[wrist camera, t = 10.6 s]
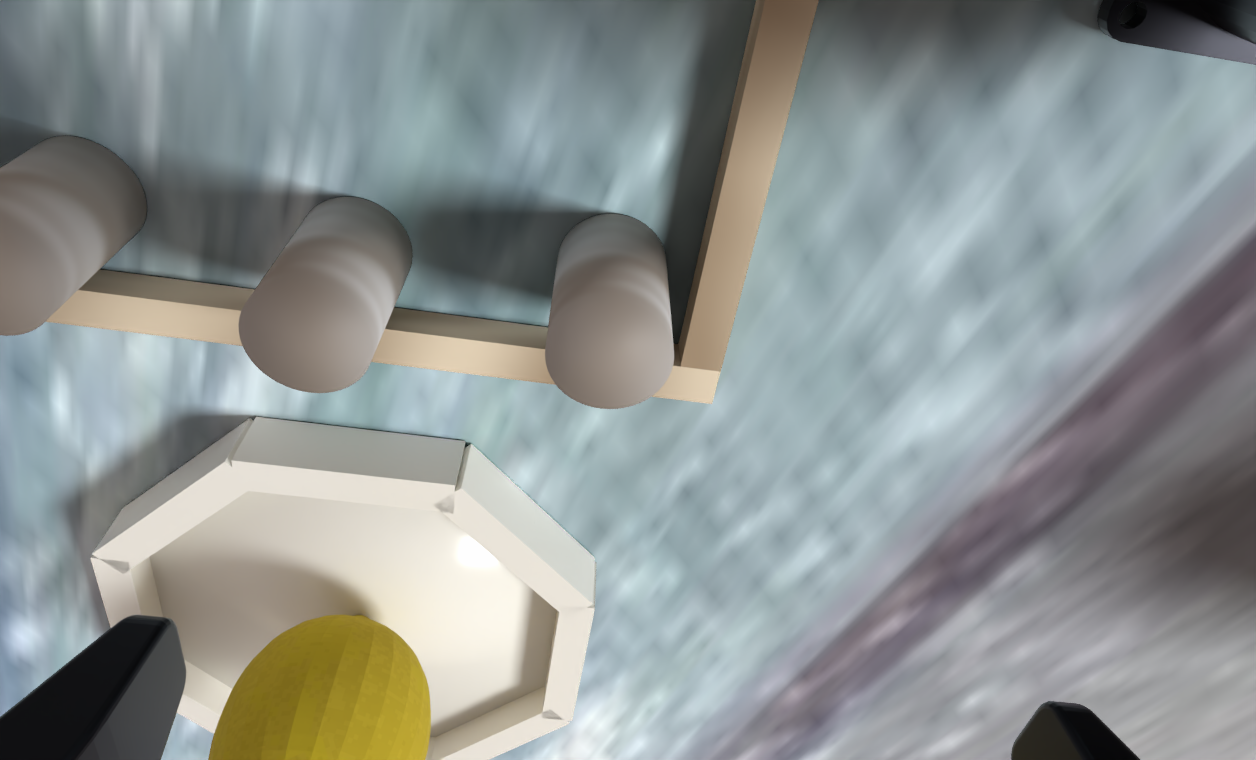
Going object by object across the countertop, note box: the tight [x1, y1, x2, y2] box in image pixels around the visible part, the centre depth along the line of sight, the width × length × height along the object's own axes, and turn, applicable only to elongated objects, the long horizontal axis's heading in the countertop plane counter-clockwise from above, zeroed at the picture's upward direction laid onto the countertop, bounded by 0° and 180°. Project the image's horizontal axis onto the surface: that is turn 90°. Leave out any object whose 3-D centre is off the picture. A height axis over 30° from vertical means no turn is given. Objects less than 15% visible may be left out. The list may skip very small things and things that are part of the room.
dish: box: [90, 417, 596, 760], centre depth 27 cm, size 14×14×2 cm
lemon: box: [208, 615, 431, 760], centre depth 24 cm, size 6×6×8 cm
